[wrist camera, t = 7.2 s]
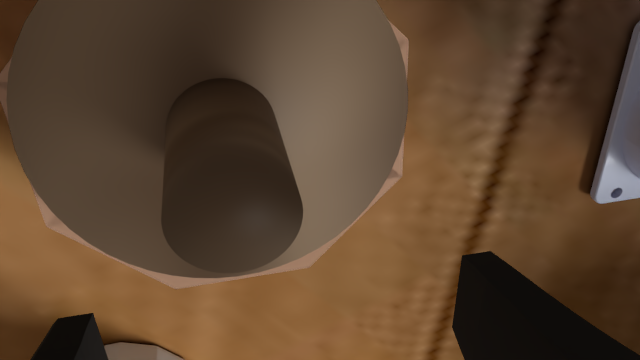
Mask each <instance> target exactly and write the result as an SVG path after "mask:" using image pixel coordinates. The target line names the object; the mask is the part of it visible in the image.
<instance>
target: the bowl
mask: <svg viewBox="0 0 640 360" xmlns="http://www.w3.org/2000/svg"><path fill="white" fill-rule="evenodd" d="M389 22H390V21H389ZM390 24H391V27H392V29H393V31H394V34H395V36H396V38H397V41H398V43H399V46H400V50H401V53H402V57H403V61H404V65H405V70H406V78H407V68H408V48H409V39H408V38H407V37H406V36H405V35H403V34H402V33H401V32H400V31H399V30H398V29H397V28H396V27H395V26H394V25H393V24H392V23H391V22H390ZM11 59H12V57H11ZM11 59H10V60H9V61H8V63H7V64H6V66H5V67H4V69H3V70H2V72H1V73H0V102H1V104H2V107H3V110H4V113H5V115H6V118H7V121H8V111H7V100H6V99H7V84H8V72H9V68H10V64H11ZM8 123H9V122H8ZM403 147H404V136H403V140H402V143H401V147H400V150H399V154H398V156H397V158H396V161H395V163H394V165H393V167H392V170H391V172H390V174H389V176H388V177H387V179H386V181H385V183H384V184H383V186H382V188H381V189H380V191H379V192H378V194H377V195H376V196H375V198H374V199H373V200H372V202H371V203H370V204H369V206H368V207H367V208H366V209H365V210H364V211H363V212H362V213H361V215H360V216H359V217H358V218H357V219H356V220H355V221H354V222H353V223H352V224H351V225H349V226H348V227H347V228H346V229H345V230H343V231H342V232H341V233H340V234H339V235H338V236H336V237H335V238H333V239H332V240H330V241H329V242H327V243H326V244H324V245H323V246H321V247H320V248H318V249H316V250H315V251H313V252H311V253H309V254H307V255H305V256H303V257H301V258H299V259H297V260H294V261H292V262H289V263H287V264H285V265H282V266H279V267H276V268H273V269H269V270H266V271H262V272H259V273H253V274H248V275H243V276H236V277H225V278H190V277H180V276H172V275H167V274H162V273H158V272H153V271H149V270H146V269H143V268H140V267H137V266H134V265H131V264H128V263H126V262H123V261H121V260H119V259H117V258H114V257H112V256H110V255H108V254H106V253H104V252H103V251H101V250H99V249H98V248H96V247H94V246H92V245H91V244H89V243H87V242H86V241H85V240H83V239H82V238H81V237H79V236H78V235H77V234H76V233H74V232H73V231H72V230H70V229H69V228H68V227H67V226H66V225H65V224H64V223H63V222H62V221H61V220H60V219H59V218H58V217H57V216H56V215H54V214H53V213H52V211H51V210H50V209H49V208H48V206H47V205H46V204H45V203H44V201H43V200H42V199H41V198H40V196H39V195H38V194H37V192H36V191H35V189H34V187H33V186H32V184H31V186H32V189H33V191H34V194H35V197H36V200H37V202H38V205H39V208H40V211H41V213H42V216H43V219H44V221H45V224H46V227H48V228H50V229H52V230H54V231H56V232H58V233H60V234H63V235H65V236H67V237H69V238H71V239H73V240H75V241H77V242H79V243H81V244H83V245H85V246H87V247H89V248H92V249H94V250H96V251H98V252H100V253H102V254H104V255H106V256H108V257H110V258H112V259H114V260H116V261H118V262H120V263H123V264H125V265H127V266H129V267H131V268H133V269H135V270H137V271H139V272H141V273H143V274H145V275H147V276H149V277H152V278H154V279H156V280H158V281H160V282H162V283H164V284H166V285H168V286H170V287H172V288H174V289H180V288H186V287H193V286H199V285H205V284H211V283H217V282H223V281H229V280H236V279H242V278H248V277H254V276H260V275H266V274H273V273H279V272H285V271H291V270H297V269H303V268H309V267H310V266H311V265H312V264H313V263H314V262H315V261H316V260H317V259H318V258H319V257H320V256H321V255H322V254H324V253H325V252H326V251H327V250H328V249H329V248H330V247H331V246H332V245H333V244H334V243H335V242H336V241H337V240H338V239H339V238H340V237H341V236H342V235H343V234H344V233H345V232H346V231H347V230H348V229H349V228H350V227H351V226H352V225H353V224H354V223H355V222H356V221H357V220H358V219H359V218H360V217H361V216H362V215H363V214H364V213H365V212H366V211H367V210H368V209H369V208H370V207H371V206H372V205H373V204H374V203H375V202H376V201H377V200H379V199H380V198H381V197H382V196H383V195H384V194H385V193H386V192H387V191H388V190H389V189H390V188H391V187H392V186H393V185H394V184H395V183H396V182H397V181H398V180H399V179H400V178H401V177H402V167H403ZM30 183H31V182H30Z"/></svg>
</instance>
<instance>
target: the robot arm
mask: <svg viewBox="0 0 640 360" xmlns="http://www.w3.org/2000/svg"><path fill="white" fill-rule="evenodd" d="M614 189H615V190H614ZM613 190H614V191H613ZM612 191H613V192H612ZM590 196H591V198H592V199H593V200H594V201H595V202H597V203H599V204H604V203H610V202H616V201H623V200H629V199H635V198H640V21H639V22H638V23H637V24H636V26H635V28H634V30H633V34H632V38H631V41H630V45H629V49H628V53H627V56H626V60H625V64H624V68H623V71H622V75H621V79H620V83H619V86H618V90H617V94H616V98H615V102H614V105H613V109H612V113H611V117H610V120H609V124H608V128H607V132H606V135H605V139H604V143H603V147H602V150H601V154H600V158H599V162H598V166H597V169H596V173H595V177H594V181H593V184H592V188H591V192H590ZM452 328H453V331H454V333H455V336H456V338H457V341H458V344H459V346H460V349H461V352H462V354H463V357H464V359H465V360H640V355H638V354H636V353H635V352H633V351H632V350H630V349H629V348H627V347H625V346H624V345H622V344H621V343H619V342H618V341H616V340H614V339H613V338H611V337H610V336H608V335H607V334H605V333H604V332H602V331H601V330H599V329H598V328H596V327H595V326H593V325H592V324H590V323H589V322H587V321H586V320H584V319H583V318H581V317H580V316H579V315H577V314H576V313H574V312H573V311H571V310H570V309H569V308H567V307H566V306H564V305H563V304H562V303H560V302H559V301H557V300H556V299H555V298H553V297H552V296H551V295H549V294H548V293H546V292H545V291H544V290H542V289H541V288H540V287H538V286H537V285H536V284H534V283H533V282H532V281H530V280H529V279H528V278H526V277H525V276H524V275H522V274H521V273H520V272H518V271H517V270H516V269H514V268H513V267H512V266H510V265H509V264H507V263H506V262H505V261H503V260H502V259H501V258H499V257H498V256H496V255H495V254H494V253H492V252H491V251H488V252H482V253H476V254H469V255H463V256H462V261H461V268H460V275H459V282H458V289H457V296H456V304H455V311H454V318H453V325H452ZM31 360H108V357H107V354H106V351H105V348H104V345H103V342H102V339H101V336H100V333H99V330H98V327H97V324H96V321H95V318H94V315H93V313H90V314H83V315H77V316H71V317H64V318H58V319H57V320H56V322H55V323H54V324H53V325H52V327H51V328H50V330H49V332H48V333H47V335H46V336H45V338H44V339H43V341H42V343H41V344H40V346H39V347H38V349H37V350H36V352H35V354H34V355H33V357H32V358H31Z"/></svg>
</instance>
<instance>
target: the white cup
mask: <svg viewBox="0 0 640 360" xmlns="http://www.w3.org/2000/svg"><path fill="white" fill-rule="evenodd" d="M104 348H105V351H106V354H107V357H108V360H184V359H183V358H181V357H179V356H177V355H175V354H173V353H171V352H168V351H166V350H164V349H162V348H160V347H158V346H154V345H144V344H135V343H125V342H118V343H114V344H109V345H104Z"/></svg>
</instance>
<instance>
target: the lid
mask: <svg viewBox="0 0 640 360" xmlns="http://www.w3.org/2000/svg"><path fill="white" fill-rule="evenodd" d="M6 100H7V111H8V122H9V128H10V132H11V136H12V140H13V144H14V148H15V151H16V153H17V156H18V158H19V160H20V163H21V165H22V168H23V170H24V172H25V174H26V176H27V177H28V179H29V181H30V182H31V184H32V186H33V187H34V189H35V191H36V192H37V194H38V195H39V196H40V198H41V199H42V200H43V201H44V203H45V204H46V205H47V206H48V208H49V209H50V210H51V211H52V213H53V214H54V215H56V216H57V217H58V218H59V219H60V220H61V221H62V222H63V223H64V224H65V225H66V226H67V227H68V228H69V229H70V230H72V231H73V232H74V233H76V234H77V235H78V236H79V237H81V238H82V239H83V240H85V241H86V242H87V243H89V244H91V245H92V246H94V247H96V248H98V249H99V250H101V251H103V252H104V253H106V254H108V255H110V256H112V257H114V258H117V259H119V260H121V261H123V262H126V263H128V264H131V265H134V266H137V267H140V268H143V269H146V270H149V271H153V272H158V273H162V274H167V275H172V276H180V277H190V278H225V277H236V276H243V275H248V274H253V273H259V272H262V271H266V270H269V269H273V268H276V267H279V266H282V265H285V264H287V263H289V262H292V261H294V260H297V259H299V258H301V257H303V256H305V255H307V254H309V253H311V252H313V251H315V250H316V249H318V248H320V247H321V246H323V245H324V244H326V243H327V242H329V241H330V240H332V239H333V238H335V237H336V236H338V235H339V234H340V233H341V232H342V231H343V230H345V229H346V228H347V227H348V226H349V225H351V224H352V223H353V222H354V221H355V220H356V219H357V218H358V217H359V216H360V215H361V213H362V212H363V211H364V210H365V209H366V208H367V207H368V206H369V204H370V203H371V202H372V200H373V199H374V198H375V196H376V195H377V194H378V192H379V191H380V189H381V188H382V186H383V184H384V183H385V181H386V179H387V177H388V176H389V174H390V172H391V170H392V167H393V165H394V163H395V161H396V158H397V156H398V154H399V150H400V147H401V143H402V140H403V136H404V132H405V126H406V119H407V112H408V86H407V78H406V70H405V65H404V61H403V57H402V53H401V50H400V46H399V43H398V41H397V38H396V36H395V34H394V31H393V29H392V27H391V24H390V22H389V20H388V19H387V17H386V16H385V14H384V12H383V11H382V9H381V7H380V6H379V4H378V2H377V1H376V0H38V2H37V3H36V5H35V6H34V8H33V10H32V11H31V13H30V14H29V16H28V18H27V19H26V21H25V23H24V25H23V28H22V30H21V32H20V35H19V37H18V40H17V42H16V45H15V47H14V51H13V55H12V59H11V64H10V68H9V72H8V84H7V99H6Z"/></svg>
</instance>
